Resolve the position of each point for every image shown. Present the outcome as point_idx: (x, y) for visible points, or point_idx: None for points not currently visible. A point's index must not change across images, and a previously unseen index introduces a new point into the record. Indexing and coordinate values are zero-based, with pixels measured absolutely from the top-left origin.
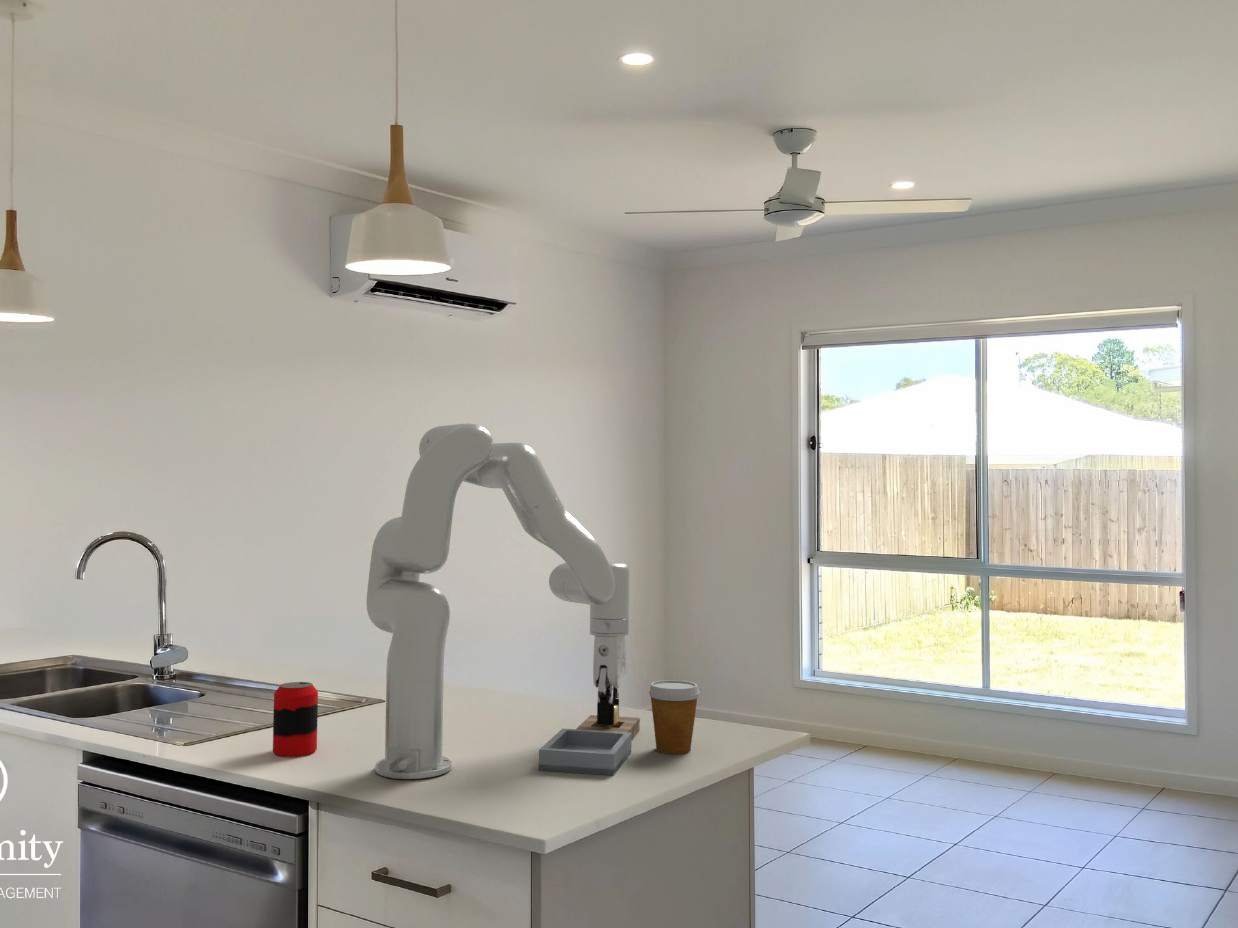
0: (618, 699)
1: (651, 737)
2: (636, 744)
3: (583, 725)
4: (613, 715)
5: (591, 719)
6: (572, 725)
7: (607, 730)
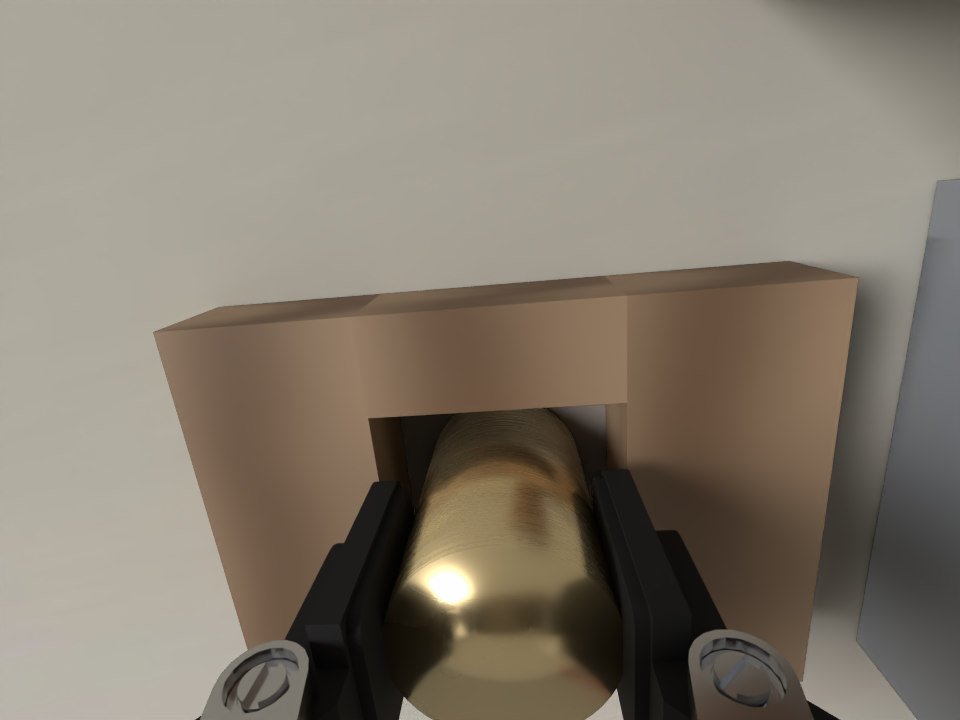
0: (340, 621)
1: (396, 151)
2: (668, 209)
3: None
4: (647, 516)
5: None
6: None
7: (743, 469)
